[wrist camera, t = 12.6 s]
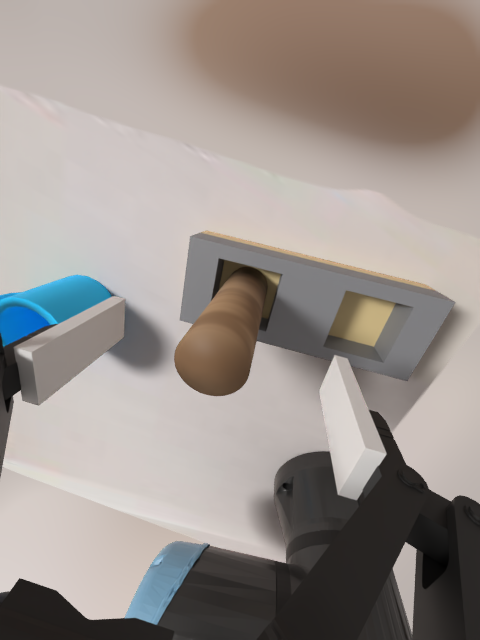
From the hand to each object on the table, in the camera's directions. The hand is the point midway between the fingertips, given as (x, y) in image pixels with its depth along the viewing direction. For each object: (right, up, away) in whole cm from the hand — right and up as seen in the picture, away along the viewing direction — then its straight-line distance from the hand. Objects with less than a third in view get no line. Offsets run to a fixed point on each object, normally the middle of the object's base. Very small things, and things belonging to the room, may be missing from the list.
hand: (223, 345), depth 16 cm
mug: (-20, +4, +17) cm, 26 cm away
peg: (+2, +5, +10) cm, 11 cm away
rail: (+7, +4, +12) cm, 14 cm away
